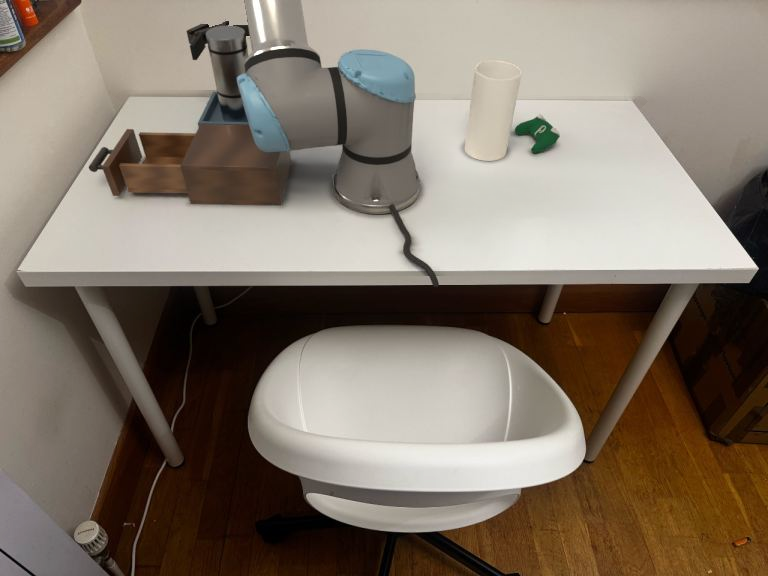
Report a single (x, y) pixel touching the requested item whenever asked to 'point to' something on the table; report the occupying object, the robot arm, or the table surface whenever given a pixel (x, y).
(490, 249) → the table surface
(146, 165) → the drawer
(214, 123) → the tray
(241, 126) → the cabinet
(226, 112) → the steel travel flask
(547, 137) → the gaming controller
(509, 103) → the cup
